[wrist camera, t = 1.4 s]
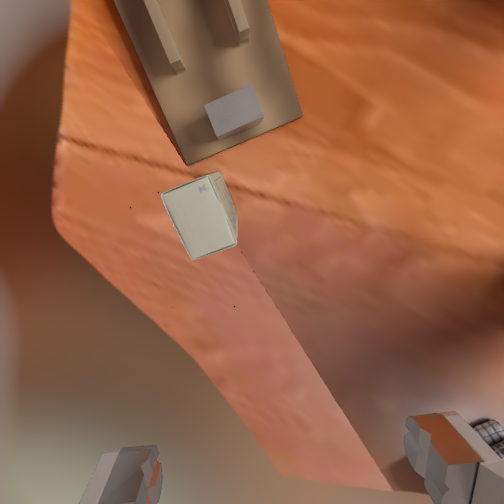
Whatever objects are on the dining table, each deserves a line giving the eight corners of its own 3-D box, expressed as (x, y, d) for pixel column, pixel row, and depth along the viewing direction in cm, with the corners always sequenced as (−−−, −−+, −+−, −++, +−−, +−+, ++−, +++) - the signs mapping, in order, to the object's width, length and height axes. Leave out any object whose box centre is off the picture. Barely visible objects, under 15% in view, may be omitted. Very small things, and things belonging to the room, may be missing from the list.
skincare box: (186, 183, 33) (155, 189, 21) (220, 169, 33) (207, 169, 21) (208, 232, 35) (190, 263, 23) (240, 219, 34) (238, 245, 23)
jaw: (251, 93, 29) (252, 83, 26) (261, 122, 30) (264, 116, 27) (208, 112, 29) (203, 105, 26) (219, 140, 30) (216, 136, 27)
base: (240, -75, 26) (240, -119, 22) (300, 117, 31) (309, 110, 27) (110, -11, 27) (88, -42, 23) (188, 165, 32) (181, 164, 28)
